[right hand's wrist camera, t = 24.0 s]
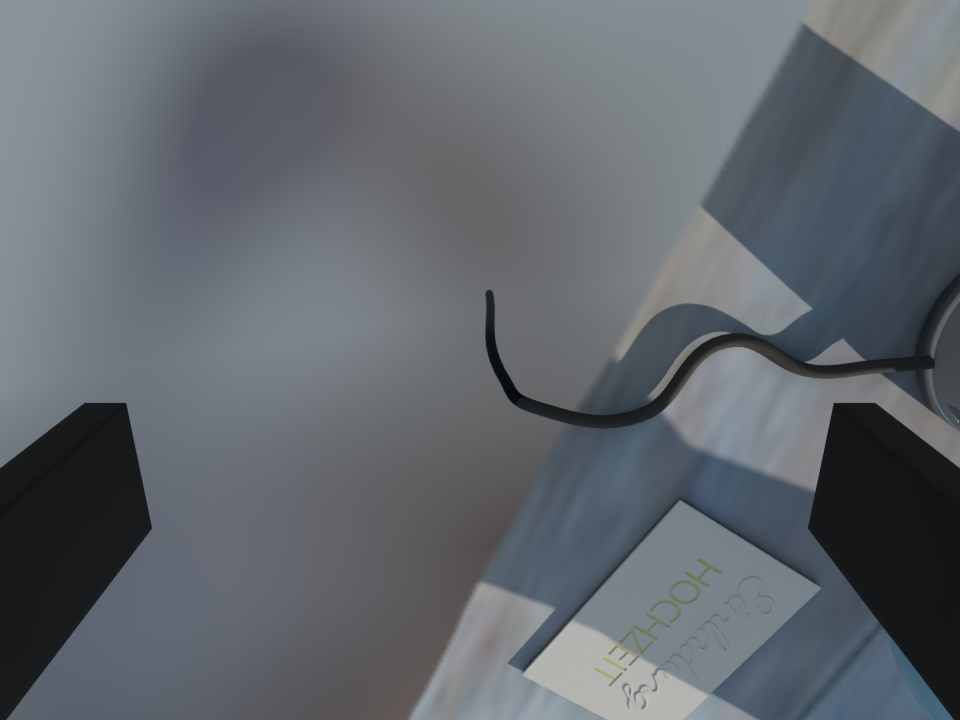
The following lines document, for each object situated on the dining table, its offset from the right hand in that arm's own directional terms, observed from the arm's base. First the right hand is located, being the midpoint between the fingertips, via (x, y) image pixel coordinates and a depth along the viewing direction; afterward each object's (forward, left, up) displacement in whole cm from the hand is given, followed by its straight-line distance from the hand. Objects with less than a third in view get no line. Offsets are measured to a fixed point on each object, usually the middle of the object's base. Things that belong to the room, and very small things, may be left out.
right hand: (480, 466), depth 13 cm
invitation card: (+14, -36, -34) cm, 52 cm away
